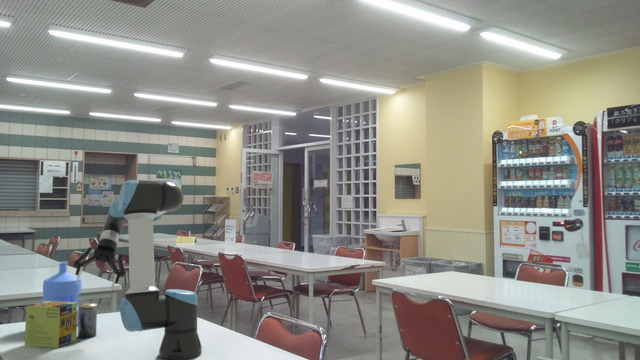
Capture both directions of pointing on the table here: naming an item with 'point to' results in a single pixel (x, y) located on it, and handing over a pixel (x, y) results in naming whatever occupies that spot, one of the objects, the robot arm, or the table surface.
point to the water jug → (62, 287)
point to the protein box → (51, 324)
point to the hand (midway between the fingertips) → (94, 285)
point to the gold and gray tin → (87, 320)
